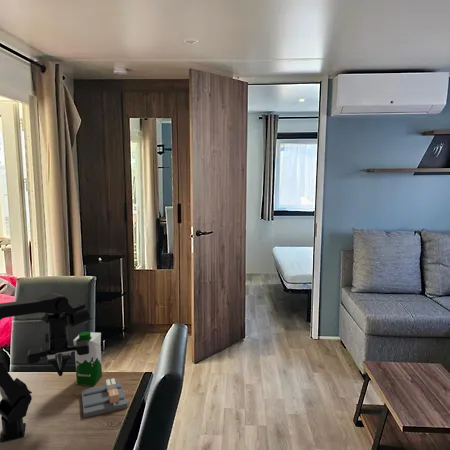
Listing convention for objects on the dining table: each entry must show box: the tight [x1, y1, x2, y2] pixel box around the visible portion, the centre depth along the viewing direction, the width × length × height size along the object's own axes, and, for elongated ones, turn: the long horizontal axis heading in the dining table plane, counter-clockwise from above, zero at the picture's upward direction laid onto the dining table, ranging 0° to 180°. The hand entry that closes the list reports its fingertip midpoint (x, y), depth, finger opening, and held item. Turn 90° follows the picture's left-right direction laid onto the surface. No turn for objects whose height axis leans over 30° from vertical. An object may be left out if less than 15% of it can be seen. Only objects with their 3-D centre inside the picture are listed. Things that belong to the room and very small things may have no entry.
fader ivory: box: [105, 378, 117, 392], centre depth 141 cm, size 4×3×3 cm
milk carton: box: [72, 330, 103, 387], centre depth 149 cm, size 9×9×20 cm
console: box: [80, 381, 128, 418], centre depth 137 cm, size 15×14×2 cm
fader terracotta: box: [108, 389, 119, 404], centre depth 134 cm, size 4×3×3 cm
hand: (60, 375), depth 131 cm, fingers closed
